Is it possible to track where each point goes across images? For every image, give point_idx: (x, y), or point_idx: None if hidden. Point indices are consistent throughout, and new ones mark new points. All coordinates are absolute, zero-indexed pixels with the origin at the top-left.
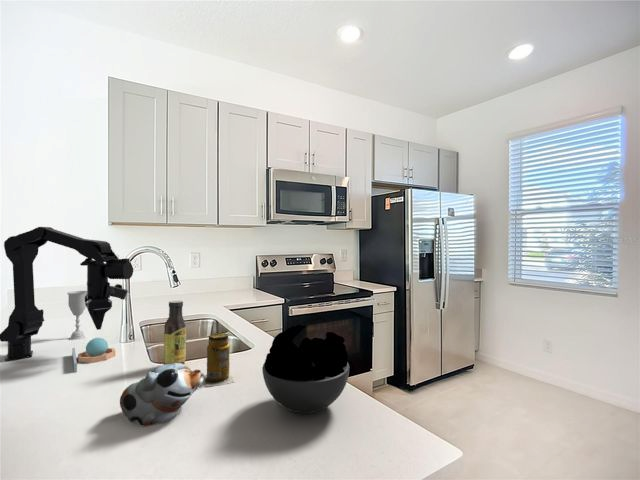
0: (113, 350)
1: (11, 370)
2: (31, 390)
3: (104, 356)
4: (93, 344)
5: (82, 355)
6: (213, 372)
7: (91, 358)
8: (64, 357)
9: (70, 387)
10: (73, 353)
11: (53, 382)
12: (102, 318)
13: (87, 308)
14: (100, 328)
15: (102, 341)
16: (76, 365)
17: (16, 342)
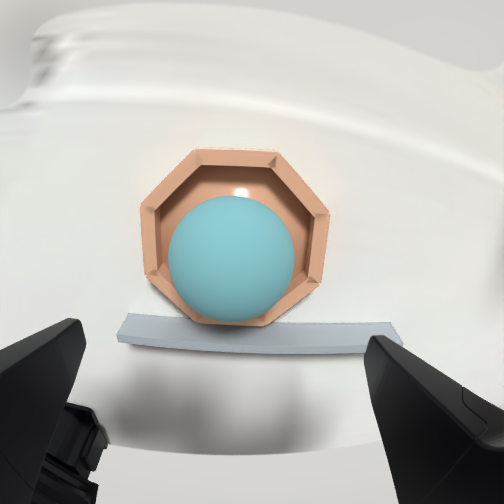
0: (251, 159)
1: (208, 448)
2: None
3: (327, 219)
4: (279, 298)
5: None
6: None
7: (321, 278)
8: (143, 345)
9: (492, 332)
10: (229, 350)
11: None
12: (466, 402)
13: (28, 502)
14: (387, 340)
15: (270, 248)
16: (400, 338)
17: (85, 473)
